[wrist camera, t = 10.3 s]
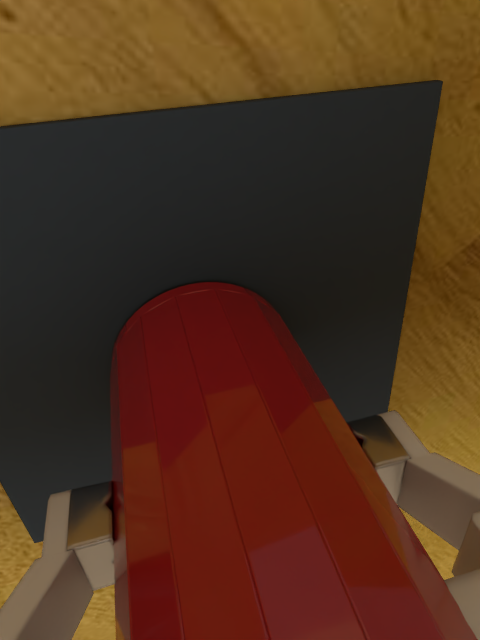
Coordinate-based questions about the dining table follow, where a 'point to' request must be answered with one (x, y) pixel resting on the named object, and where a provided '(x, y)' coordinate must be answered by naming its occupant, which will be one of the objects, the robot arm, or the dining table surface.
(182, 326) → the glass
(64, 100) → the dining table surface
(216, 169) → the corner mat
